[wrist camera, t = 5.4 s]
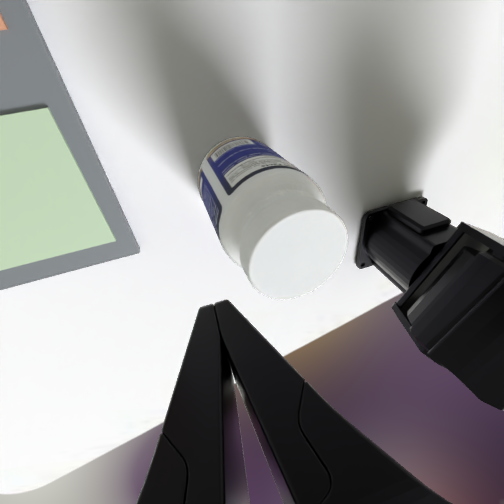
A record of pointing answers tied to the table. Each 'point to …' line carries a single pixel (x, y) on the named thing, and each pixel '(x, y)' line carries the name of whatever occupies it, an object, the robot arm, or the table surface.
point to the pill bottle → (271, 218)
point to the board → (48, 167)
